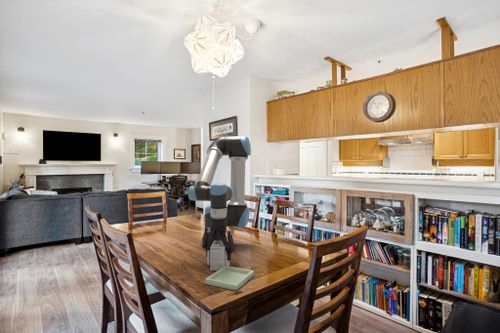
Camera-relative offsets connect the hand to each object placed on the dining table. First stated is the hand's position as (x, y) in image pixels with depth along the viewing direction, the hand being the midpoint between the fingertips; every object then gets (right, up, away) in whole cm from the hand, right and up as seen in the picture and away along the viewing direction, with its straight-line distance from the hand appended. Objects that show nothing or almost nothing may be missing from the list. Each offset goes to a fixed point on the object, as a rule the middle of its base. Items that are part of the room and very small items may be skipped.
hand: (218, 265), depth 128 cm
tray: (+7, -1, -14) cm, 16 cm away
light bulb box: (0, -1, 0) cm, 1 cm away
